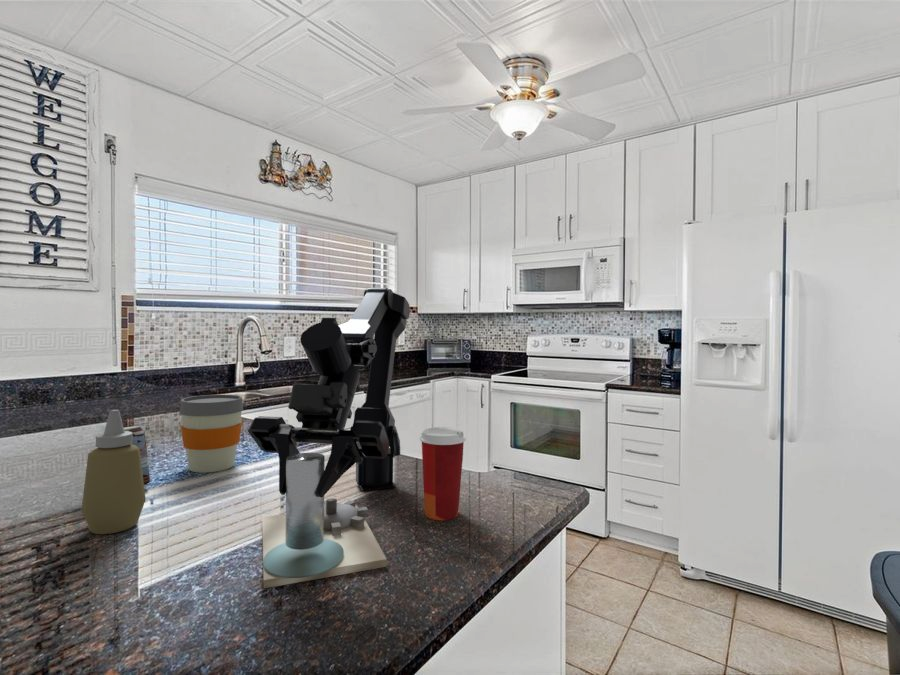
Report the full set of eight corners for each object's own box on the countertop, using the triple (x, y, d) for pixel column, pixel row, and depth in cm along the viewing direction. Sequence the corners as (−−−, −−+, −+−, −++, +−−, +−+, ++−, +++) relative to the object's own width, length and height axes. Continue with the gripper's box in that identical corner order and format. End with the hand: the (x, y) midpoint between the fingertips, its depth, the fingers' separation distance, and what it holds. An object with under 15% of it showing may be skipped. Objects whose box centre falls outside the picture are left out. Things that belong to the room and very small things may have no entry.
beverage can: (130, 498, 85) (130, 431, 85) (96, 494, 87) (96, 429, 86) (158, 486, 91) (159, 424, 91) (126, 483, 93) (126, 422, 92)
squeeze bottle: (103, 517, 77) (103, 405, 76) (156, 516, 77) (156, 406, 77) (67, 539, 69) (67, 415, 68) (126, 538, 69) (126, 415, 69)
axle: (314, 529, 66) (315, 450, 65) (330, 542, 62) (330, 458, 62) (279, 539, 63) (280, 456, 62) (294, 553, 59) (294, 465, 59)
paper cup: (469, 509, 83) (471, 428, 82) (456, 526, 75) (457, 438, 75) (428, 502, 85) (429, 425, 85) (410, 519, 78) (411, 433, 78)
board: (359, 509, 82) (360, 484, 82) (393, 569, 62) (393, 537, 62) (262, 521, 76) (262, 495, 76) (263, 592, 56) (264, 557, 56)
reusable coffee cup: (254, 464, 107) (255, 397, 106) (200, 479, 96) (200, 405, 96) (222, 455, 114) (222, 392, 113) (167, 468, 103) (167, 399, 103)
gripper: (255, 359, 67) (204, 458, 56) (384, 362, 64) (356, 467, 54) (282, 405, 75) (242, 500, 64) (398, 410, 72) (376, 510, 62)
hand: (300, 494), depth 61 cm, fingers closed on axle, 5 cm apart
